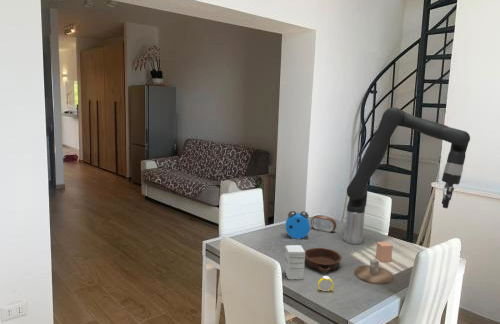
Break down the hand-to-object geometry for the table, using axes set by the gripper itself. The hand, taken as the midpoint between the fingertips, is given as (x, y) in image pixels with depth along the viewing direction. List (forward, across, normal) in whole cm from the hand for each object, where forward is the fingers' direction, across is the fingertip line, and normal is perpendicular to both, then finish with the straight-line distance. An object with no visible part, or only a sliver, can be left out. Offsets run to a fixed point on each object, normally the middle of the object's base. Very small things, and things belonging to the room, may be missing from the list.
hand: (444, 206), depth 180 cm
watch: (+35, +54, -38) cm, 75 cm away
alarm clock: (+36, +2, -67) cm, 76 cm away
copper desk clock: (+34, -16, -57) cm, 68 cm away
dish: (+35, +30, -46) cm, 65 cm away
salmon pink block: (+30, +11, -21) cm, 38 cm away
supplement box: (+36, +47, -54) cm, 80 cm away
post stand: (+32, +31, -23) cm, 50 cm away
